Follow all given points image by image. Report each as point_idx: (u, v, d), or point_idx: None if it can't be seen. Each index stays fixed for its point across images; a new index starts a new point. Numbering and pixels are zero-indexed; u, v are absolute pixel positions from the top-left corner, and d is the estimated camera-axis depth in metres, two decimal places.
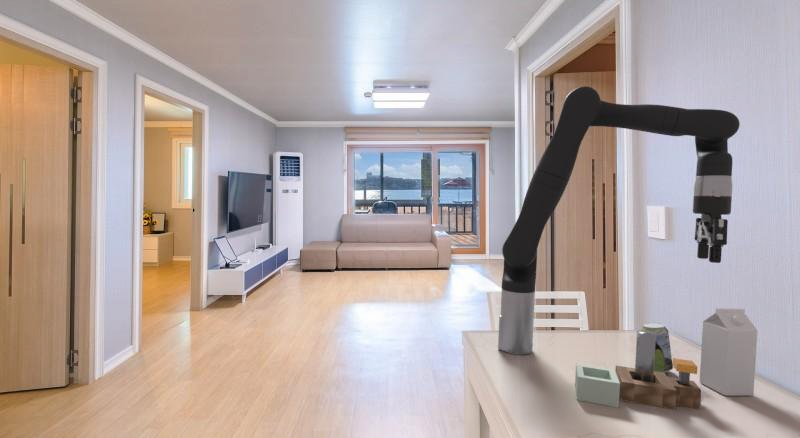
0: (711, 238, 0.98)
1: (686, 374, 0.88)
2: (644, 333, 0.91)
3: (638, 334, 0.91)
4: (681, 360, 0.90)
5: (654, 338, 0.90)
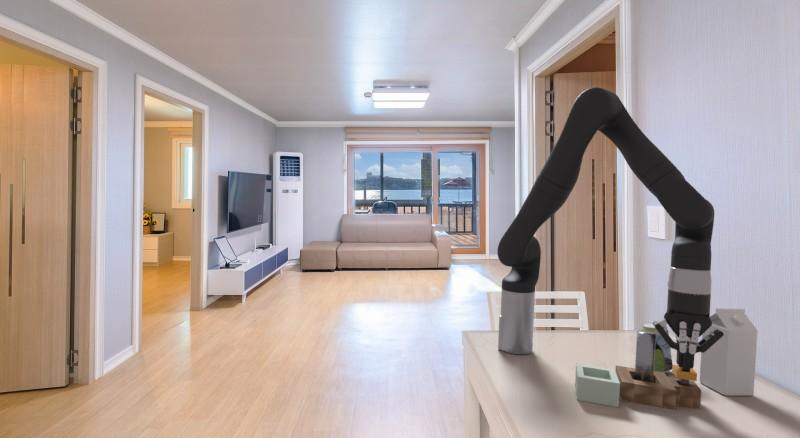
0: None
1: (686, 381, 0.88)
2: (644, 333, 0.91)
3: (638, 334, 0.91)
4: None
5: (654, 338, 0.90)
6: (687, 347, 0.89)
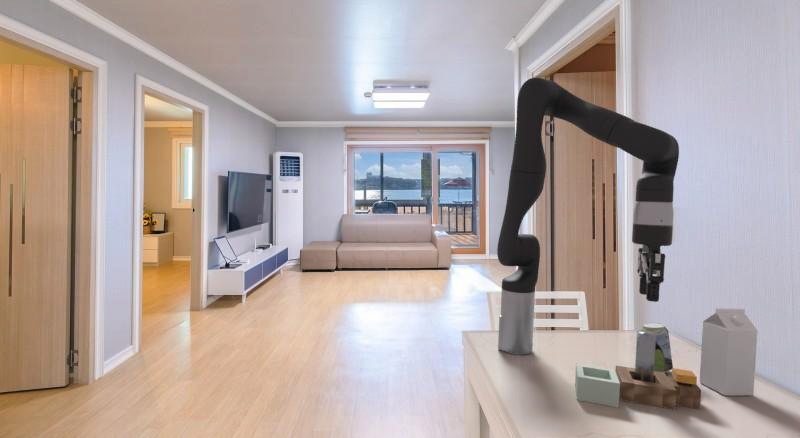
0: None
1: (685, 384, 0.88)
2: (644, 333, 0.91)
3: (638, 334, 0.91)
4: (680, 370, 0.90)
5: (654, 338, 0.90)
6: (645, 273, 0.95)
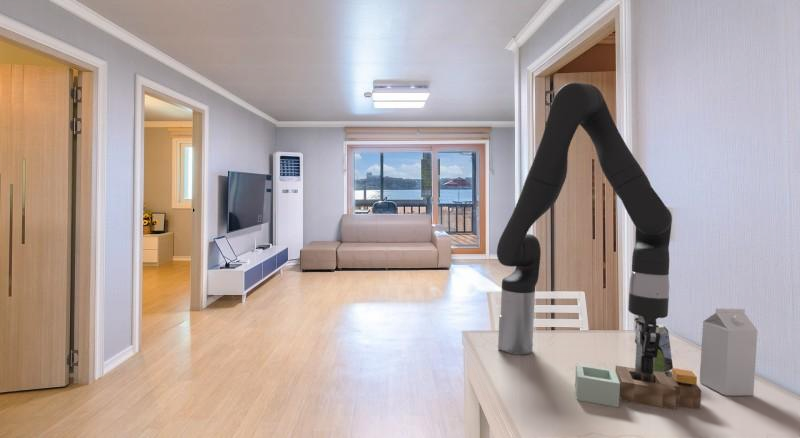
0: None
1: (685, 384, 0.88)
2: None
3: (638, 334, 0.91)
4: (680, 370, 0.90)
5: None
6: None
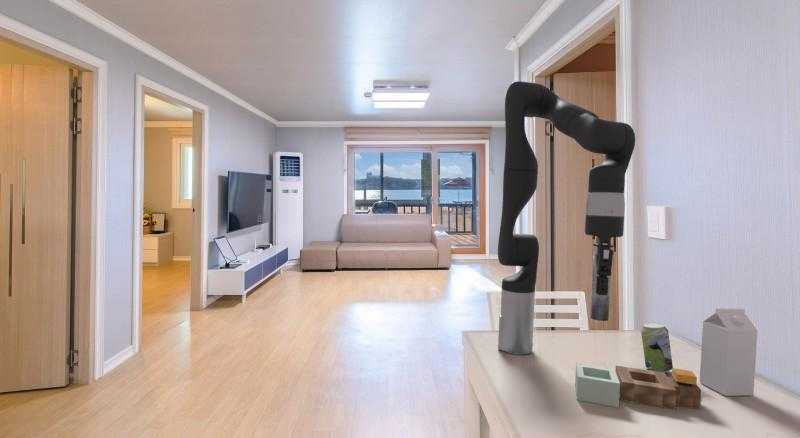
0: None
1: (685, 384, 0.88)
2: None
3: None
4: (680, 370, 0.90)
5: None
6: None
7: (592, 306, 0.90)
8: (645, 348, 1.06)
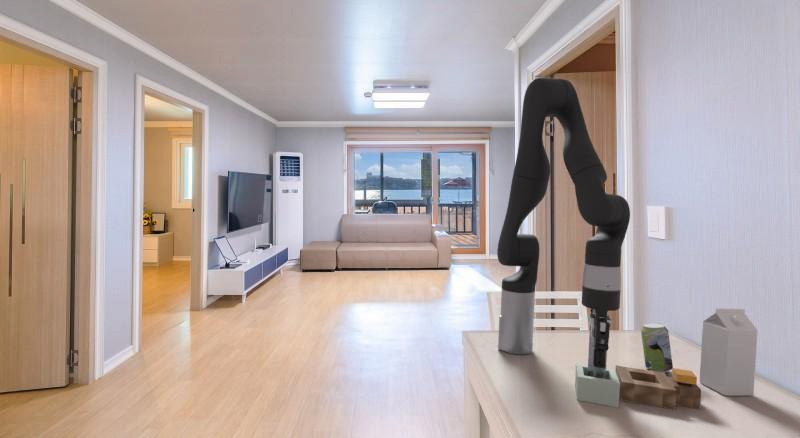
0: None
1: (685, 384, 0.88)
2: None
3: (590, 334, 0.90)
4: (680, 370, 0.90)
5: None
6: None
7: None
8: (645, 348, 1.06)
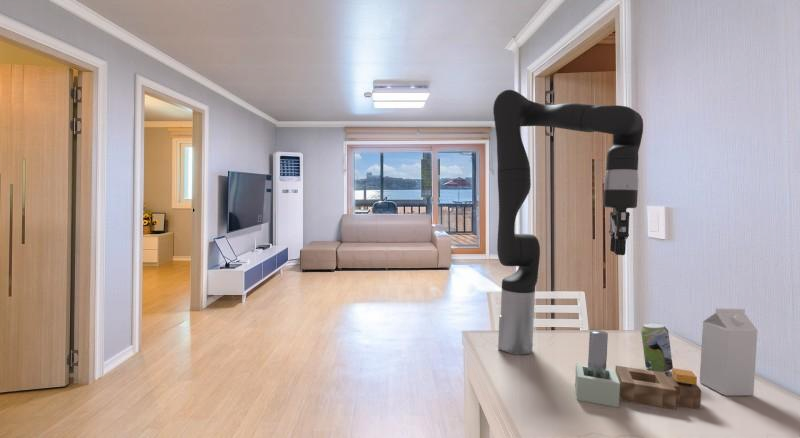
0: None
1: (685, 384, 0.88)
2: (596, 333, 0.90)
3: (590, 334, 0.90)
4: (680, 370, 0.90)
5: (605, 338, 0.89)
6: (615, 233, 1.08)
7: None
8: (645, 348, 1.06)
